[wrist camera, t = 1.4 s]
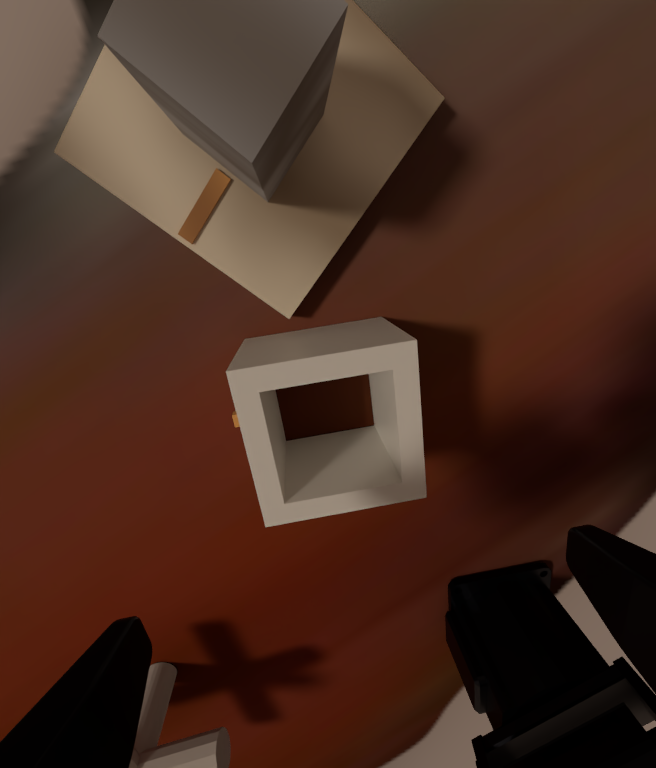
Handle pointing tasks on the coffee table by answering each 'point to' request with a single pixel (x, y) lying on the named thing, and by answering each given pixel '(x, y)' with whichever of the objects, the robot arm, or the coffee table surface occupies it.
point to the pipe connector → (181, 757)
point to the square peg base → (248, 128)
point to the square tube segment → (340, 449)
